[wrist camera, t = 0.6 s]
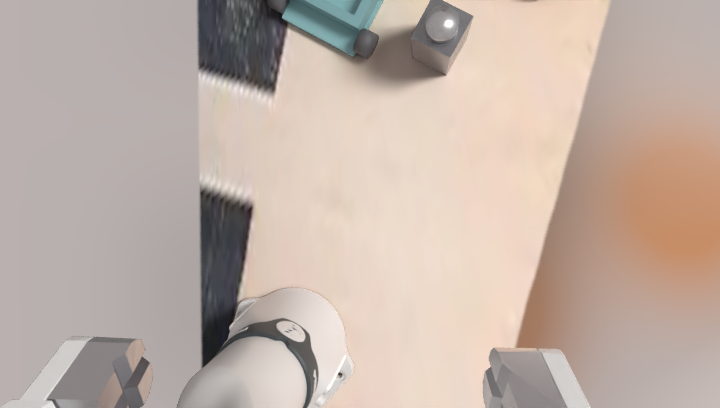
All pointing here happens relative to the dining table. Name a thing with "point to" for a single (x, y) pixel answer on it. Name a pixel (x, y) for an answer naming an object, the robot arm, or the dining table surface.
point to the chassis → (334, 22)
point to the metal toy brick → (440, 35)
